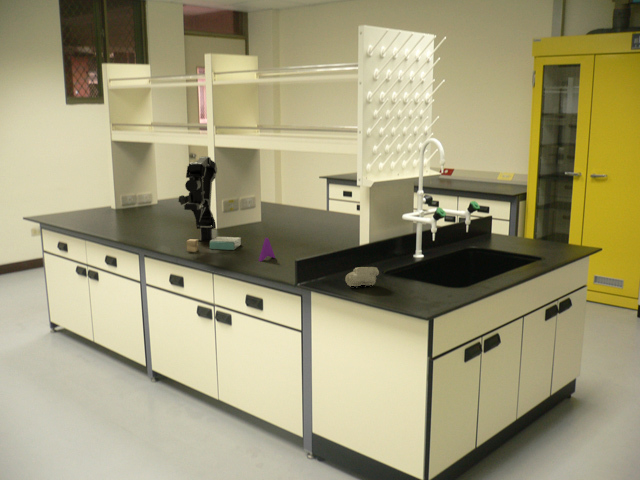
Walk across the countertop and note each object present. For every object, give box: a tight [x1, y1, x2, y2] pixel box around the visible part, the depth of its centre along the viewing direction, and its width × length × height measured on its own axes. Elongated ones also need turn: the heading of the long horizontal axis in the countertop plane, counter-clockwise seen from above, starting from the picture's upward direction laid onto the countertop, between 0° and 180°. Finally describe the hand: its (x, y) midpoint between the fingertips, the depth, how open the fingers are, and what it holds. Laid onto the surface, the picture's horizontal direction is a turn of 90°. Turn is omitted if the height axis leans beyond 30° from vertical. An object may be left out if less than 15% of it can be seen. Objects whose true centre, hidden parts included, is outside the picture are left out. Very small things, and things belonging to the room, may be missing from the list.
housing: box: [209, 236, 242, 250], centre depth 290 cm, size 10×12×4 cm
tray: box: [209, 241, 235, 251], centre depth 289 cm, size 10×12×3 cm
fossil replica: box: [345, 266, 380, 287], centre depth 223 cm, size 12×8×10 cm
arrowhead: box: [258, 237, 276, 262], centre depth 264 cm, size 10×2×10 cm
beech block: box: [186, 238, 199, 253], centre depth 280 cm, size 4×4×5 cm
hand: (198, 222), depth 286 cm, fingers closed
